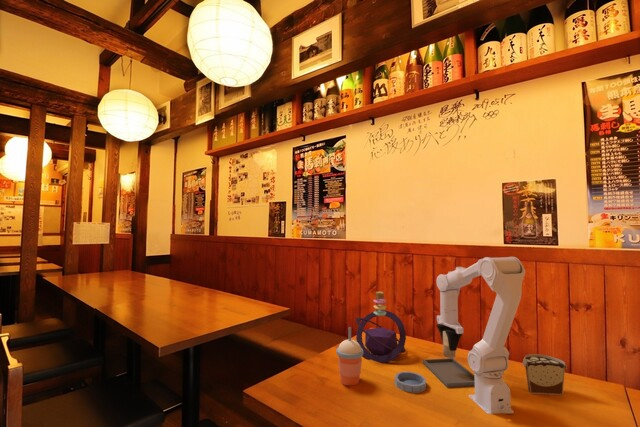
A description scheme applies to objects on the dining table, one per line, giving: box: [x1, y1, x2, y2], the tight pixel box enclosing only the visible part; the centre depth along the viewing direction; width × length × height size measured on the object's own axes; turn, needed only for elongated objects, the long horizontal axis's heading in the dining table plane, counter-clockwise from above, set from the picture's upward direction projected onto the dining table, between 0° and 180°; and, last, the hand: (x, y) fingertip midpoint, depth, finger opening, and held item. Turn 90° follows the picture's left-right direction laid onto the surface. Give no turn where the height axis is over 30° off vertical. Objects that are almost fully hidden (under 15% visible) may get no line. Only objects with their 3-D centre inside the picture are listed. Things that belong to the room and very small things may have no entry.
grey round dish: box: [394, 371, 427, 394], centre depth 102 cm, size 10×10×2 cm
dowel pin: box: [442, 331, 456, 359], centre depth 110 cm, size 4×4×8 cm
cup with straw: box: [335, 326, 364, 387], centre depth 106 cm, size 9×9×18 cm
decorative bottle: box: [355, 291, 407, 364], centre depth 129 cm, size 22×21×25 cm
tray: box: [422, 357, 475, 389], centre depth 110 cm, size 18×12×2 cm, turn 6°
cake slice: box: [522, 353, 568, 396], centre depth 101 cm, size 12×6×10 cm, turn 84°
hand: (449, 347), depth 110 cm, fingers closed on dowel pin, 4 cm apart
